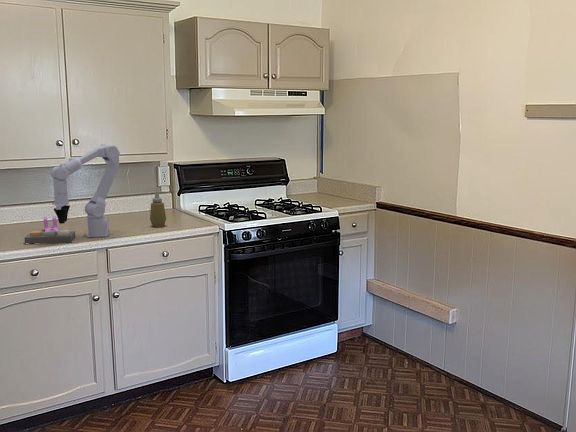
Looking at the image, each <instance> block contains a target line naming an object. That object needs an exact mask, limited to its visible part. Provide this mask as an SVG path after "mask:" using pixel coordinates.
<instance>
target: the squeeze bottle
mask: <svg viewBox="0 0 576 432" xmlns="http://www.w3.org/2000/svg"><path fill="white" fill-rule="evenodd" d="M149 210H150V211H149V212H150V213H149V221H150V224H151V226H152V227H154V228H162V227H164V226H165V224H166V220H167V216H166V209H165V203H164V202H163V198H162V197H160V193H159V191H158V190H156V191H155V193H154V198H152V202H151V203H150V209H149Z"/></svg>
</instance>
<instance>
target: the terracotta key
mask: <svg viewBox="0 0 576 432" xmlns="http://www.w3.org/2000/svg"><path fill="white" fill-rule="evenodd" d="M29 234H30V236H42V235H43V230H32V231H30V232H29Z"/></svg>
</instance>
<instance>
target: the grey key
mask: <svg viewBox="0 0 576 432" xmlns="http://www.w3.org/2000/svg"><path fill="white" fill-rule="evenodd" d="M55 235H56V230H46V231H45V230H44V236H55Z"/></svg>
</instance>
